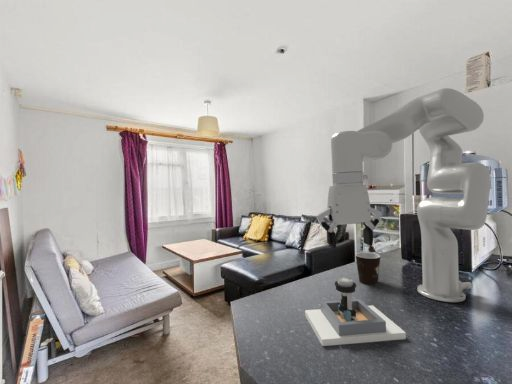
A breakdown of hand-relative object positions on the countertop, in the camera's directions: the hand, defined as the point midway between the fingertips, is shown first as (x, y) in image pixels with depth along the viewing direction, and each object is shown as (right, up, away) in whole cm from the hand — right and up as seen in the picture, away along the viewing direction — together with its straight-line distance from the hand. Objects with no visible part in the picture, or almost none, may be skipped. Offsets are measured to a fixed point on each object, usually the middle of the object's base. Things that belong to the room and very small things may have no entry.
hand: (350, 245), depth 65 cm
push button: (-1, -19, 0) cm, 19 cm away
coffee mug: (+16, -20, +29) cm, 39 cm away
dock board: (0, -21, -1) cm, 21 cm away
